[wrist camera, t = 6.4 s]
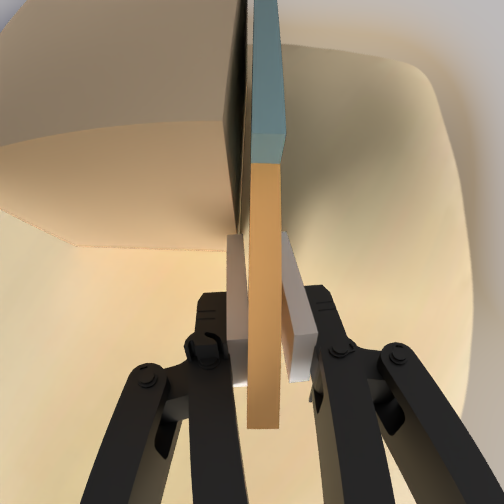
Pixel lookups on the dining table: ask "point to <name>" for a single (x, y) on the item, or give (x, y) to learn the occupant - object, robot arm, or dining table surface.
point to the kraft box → (125, 121)
